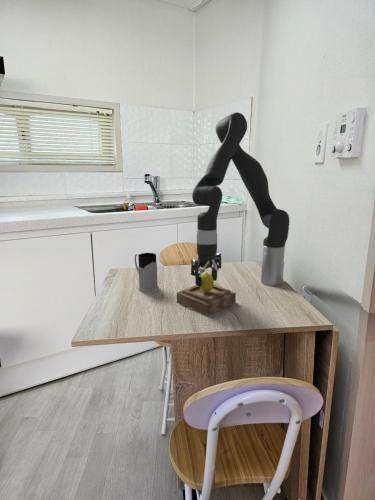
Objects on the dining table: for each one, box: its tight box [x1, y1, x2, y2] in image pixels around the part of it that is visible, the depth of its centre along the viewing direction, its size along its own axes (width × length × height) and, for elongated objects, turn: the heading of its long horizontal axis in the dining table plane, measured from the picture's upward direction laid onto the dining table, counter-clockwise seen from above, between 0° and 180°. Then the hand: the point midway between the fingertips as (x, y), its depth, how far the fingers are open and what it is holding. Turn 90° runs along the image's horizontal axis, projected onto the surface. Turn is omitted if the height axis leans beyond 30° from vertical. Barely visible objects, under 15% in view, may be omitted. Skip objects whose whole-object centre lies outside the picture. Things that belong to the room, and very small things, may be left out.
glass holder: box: [134, 252, 159, 293], centre depth 134 cm, size 9×14×15 cm, turn 41°
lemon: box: [200, 272, 215, 293], centre depth 118 cm, size 6×6×8 cm
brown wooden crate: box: [176, 284, 237, 316], centre depth 119 cm, size 16×16×5 cm
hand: (206, 282), depth 117 cm, fingers open, 8 cm apart
